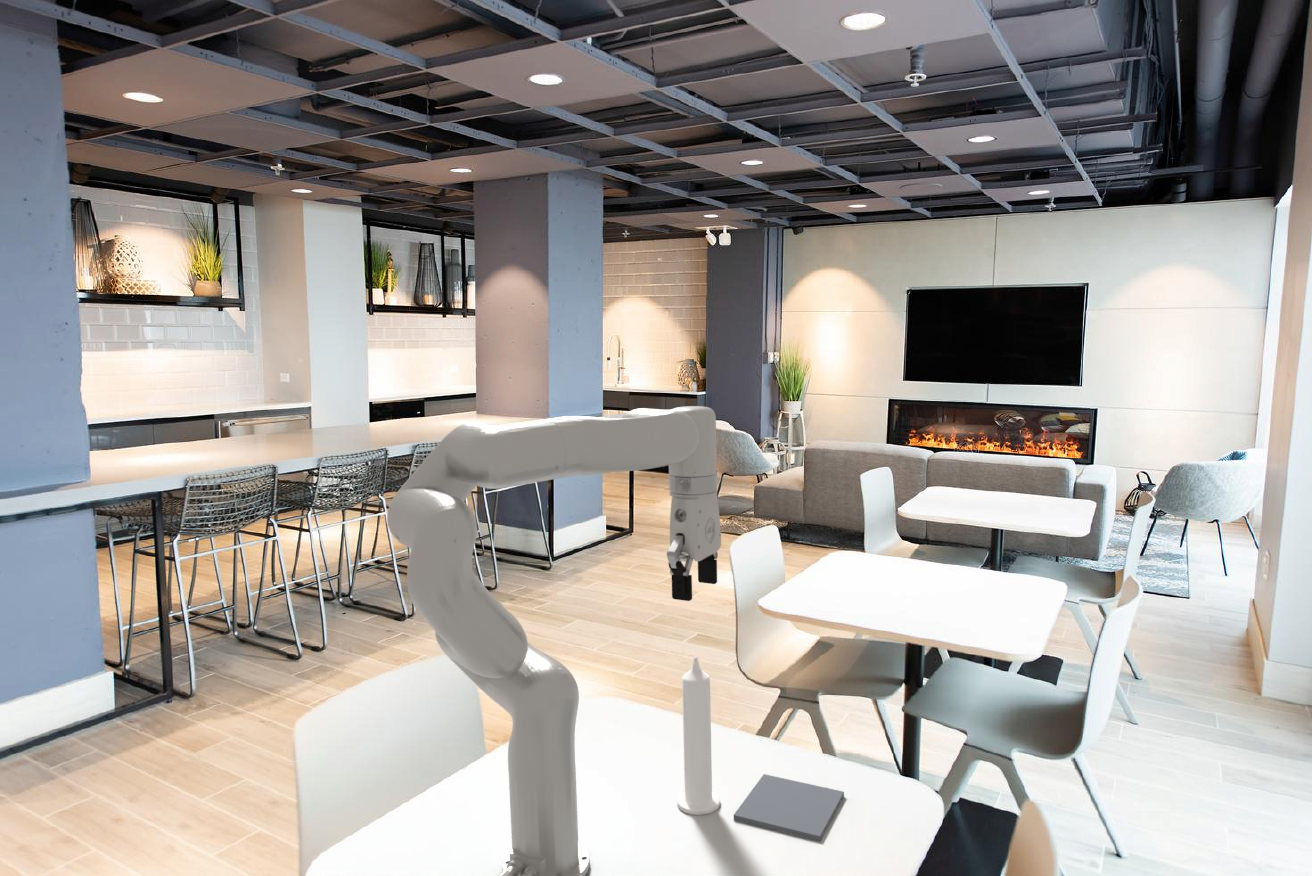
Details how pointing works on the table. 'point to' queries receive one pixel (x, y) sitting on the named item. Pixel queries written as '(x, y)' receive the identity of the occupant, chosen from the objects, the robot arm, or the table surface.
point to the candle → (697, 744)
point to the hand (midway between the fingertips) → (695, 590)
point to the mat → (790, 807)
